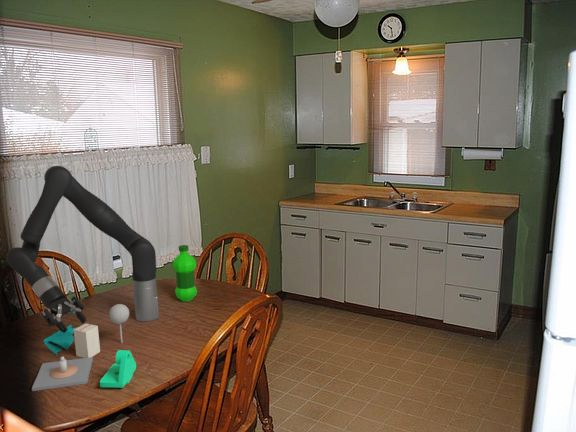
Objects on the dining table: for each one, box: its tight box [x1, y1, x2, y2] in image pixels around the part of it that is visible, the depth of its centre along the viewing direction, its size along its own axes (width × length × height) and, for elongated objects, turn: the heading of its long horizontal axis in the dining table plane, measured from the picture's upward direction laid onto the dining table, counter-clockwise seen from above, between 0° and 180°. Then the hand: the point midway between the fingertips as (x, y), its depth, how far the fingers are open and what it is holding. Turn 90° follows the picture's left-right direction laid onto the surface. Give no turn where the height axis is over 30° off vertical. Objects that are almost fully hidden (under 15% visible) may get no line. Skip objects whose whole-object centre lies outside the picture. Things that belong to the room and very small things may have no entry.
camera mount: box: [99, 349, 137, 389], centre depth 162 cm, size 12×8×10 cm, turn 177°
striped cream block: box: [73, 323, 101, 358], centre depth 179 cm, size 6×6×10 cm
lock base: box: [31, 356, 94, 392], centre depth 166 cm, size 16×16×6 cm
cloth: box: [42, 324, 77, 357], centre depth 191 cm, size 26×14×2 cm, turn 0°
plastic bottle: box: [172, 244, 198, 302], centre depth 227 cm, size 10×10×25 cm
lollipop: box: [108, 303, 130, 344], centre depth 187 cm, size 7×7×15 cm
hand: (75, 326), depth 180 cm, fingers open, 8 cm apart
